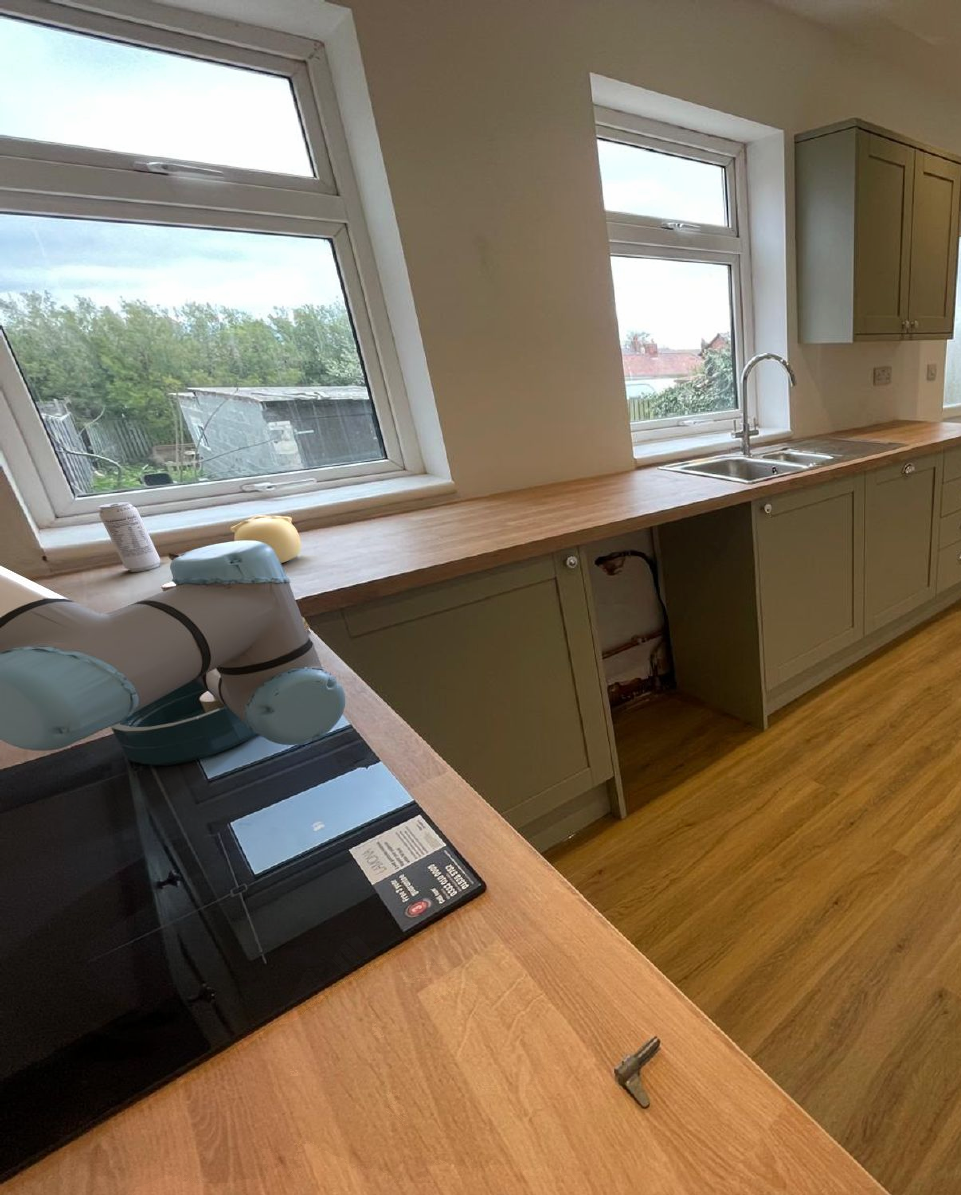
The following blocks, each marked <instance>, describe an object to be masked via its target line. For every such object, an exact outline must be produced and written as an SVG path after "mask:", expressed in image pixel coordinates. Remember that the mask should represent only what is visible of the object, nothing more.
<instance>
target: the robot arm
mask: <svg viewBox="0 0 961 1195" xmlns="http://www.w3.org/2000/svg"><path fill="white" fill-rule="evenodd" d="M179 555H180V556H179V557H177V558H175V559H174V560H173V561H172V560H171V562H170V565H169V570H170V572H171V575H172V579H171V582H174V583H175V584H176V587H174V588H172V589H169V590H167V591H164V592H163V591H162V592H158V593H157V594H154V595H151V596H149V597H146V598H143V599H141V600H139V601H135V602H134V603H131V604H128V605H126V606H123V607H121V608H118V609H114V610H112V611H109V612H108V613H100V612H98V611H96V610H94V609H91V608H89V607H88V606H85V605H83V604H80V603H78V602H76V601H73V600H71V599H70V598H67V597H66V596H63V595H62V594H59V593H56V592H55V591H52V590H51V589H49V588H46V587H44V586H43V585H41V584H39V583H37V582H34V581H33V580H30V579H28V578H26V577H24V576H23V575H20V574H18V573H16V572H14V571H12V570H9V569H7V568H6V567H3V566H1V565H0V741H1V742H3V743H6V744H8V745H11V746H13V747H16V748H19V749H24V750H28V751H36V752H37V751H40V752H48V751H55V750H60V749H63V748H66V747H68V746H70V745H71V746H72V745H73V744H75V743H77V742H79V741H81V740H84V739H86V738H89V737H90V736H93V735H95V734H98V733H99V732H102V731H103V730H105V729H108V728H111V727H110V726H114V725H116V724H118V723H121V722H123V721H124V720H126V718H128V717H130V716H131V715H132V714H133V713H135V712H136V711H138V710H140V709H142V708H143V707H145V706H147V705H149V704H151V703H152V702H154V701H156V700H158V699H160V698H161V697H163V696H165V695H167V694H169V693H170V692H172V691H174V690H176V689H178V688H179V687H181V686H183V685H185V684H187V683H188V682H198V683H199V684H200V685H201V686H202V687H204V688H205V689H206V690H207V691H208V692H209V693H211V694H212V695H213V696H214V697H215V698H216V699H218V700H219V701H220V702H221V703H223V704H224V705H225V706H226V707H228V708H229V709H230V710H231V711H232V712H234V713H235V714H236V715H237V716H238V717H239V718H240V719H241V720H242V721H244V722H245V723H246V724H247V726H248V728H249V729H250V730H251V731H254V733H255V734H257V735H258V736H259V737H261V738H264V739H266V740H268V741H270V742H272V743H275V744H279V745H284V746H298V745H303V744H307V743H309V742H313V741H316V740H318V739H319V738H321V737H323V736H325V735H327V733H329V732H330V731H331V730H332V729H333V728H335V726H336V725H337V724H338V722H339V721H340V719H341V718H342V715H343V714H344V712H345V707H346V695H345V691H344V689H343V687H342V685H341V684H340V683H339V682H338V680H337V679H336V677H335V676H333V675H332V674H331V673H330V672H328V671H327V670H325V669H324V668H323V665H322V662H321V660H320V657H319V656H318V653H317V650H316V647H315V645H314V642H313V640H311V637H310V635H309V633H308V631H307V630H306V627H305V625H304V622H303V619H302V617H303V616H302V614H301V610H300V608H299V606H298V604H297V601H296V598H295V596H294V592H293V590H292V587H291V584H290V583H291V580H290V578H289V577H288V576H287V573H286V572H285V569H284V567H283V565H282V563H281V562H280V560H278V558H277V556H276V554H275V552H274V550H273V549H272V548H271V547H270V546H269V545H267V544H265V543H262V542H258V541H234V540H233V541H227V542H226V541H225V542H220V543H215V544H210V545H205V546H201V547H198V548H195V549H192V550H189V551H185V552H183V553H181V554H179Z"/></svg>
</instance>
